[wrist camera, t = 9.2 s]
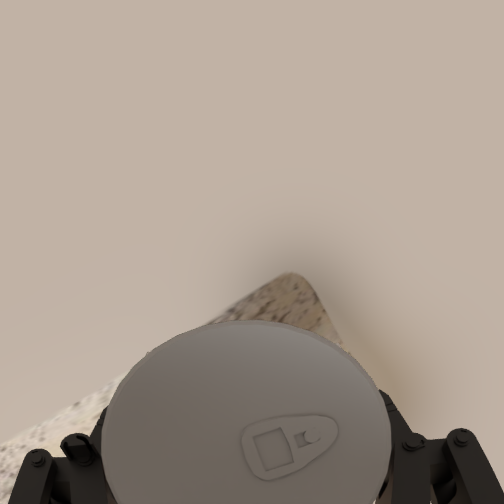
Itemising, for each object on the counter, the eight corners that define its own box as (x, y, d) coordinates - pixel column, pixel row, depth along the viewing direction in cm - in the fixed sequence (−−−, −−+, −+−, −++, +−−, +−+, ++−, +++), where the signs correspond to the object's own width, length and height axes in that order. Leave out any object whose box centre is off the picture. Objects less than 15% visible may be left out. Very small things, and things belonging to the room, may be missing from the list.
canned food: (338, 444, 15) (439, 458, 6) (228, 512, 13) (201, 603, 3) (267, 351, 18) (286, 266, 9) (160, 415, 16) (58, 395, 7)
